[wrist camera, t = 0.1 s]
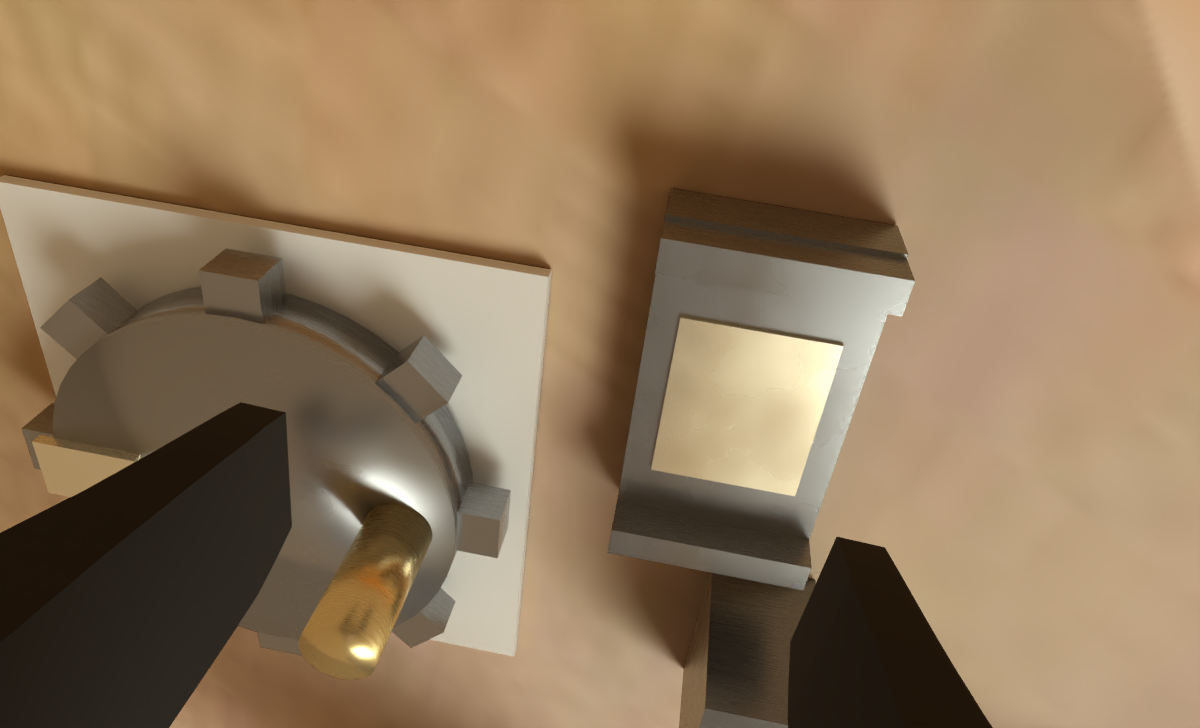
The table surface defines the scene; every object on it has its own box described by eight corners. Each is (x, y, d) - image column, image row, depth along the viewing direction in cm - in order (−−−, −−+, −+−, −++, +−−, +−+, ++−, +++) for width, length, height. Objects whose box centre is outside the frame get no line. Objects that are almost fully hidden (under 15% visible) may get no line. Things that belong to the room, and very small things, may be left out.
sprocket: (500, 653, 27) (445, 833, 22) (111, 575, 28) (-23, 731, 23) (527, 294, 20) (456, 444, 15) (3, 202, 21) (-225, 317, 16)
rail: (797, 524, 23) (802, 593, 21) (619, 491, 24) (607, 555, 22) (897, 226, 18) (916, 276, 16) (671, 188, 19) (661, 233, 17)
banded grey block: (775, 686, 27) (780, 846, 23) (683, 667, 27) (671, 823, 23) (815, 579, 24) (829, 737, 20) (712, 559, 25) (704, 712, 20)
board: (516, 646, 28) (513, 656, 28) (115, 565, 29) (108, 574, 28) (551, 269, 20) (548, 276, 20) (4, 175, 21) (-8, 180, 21)
